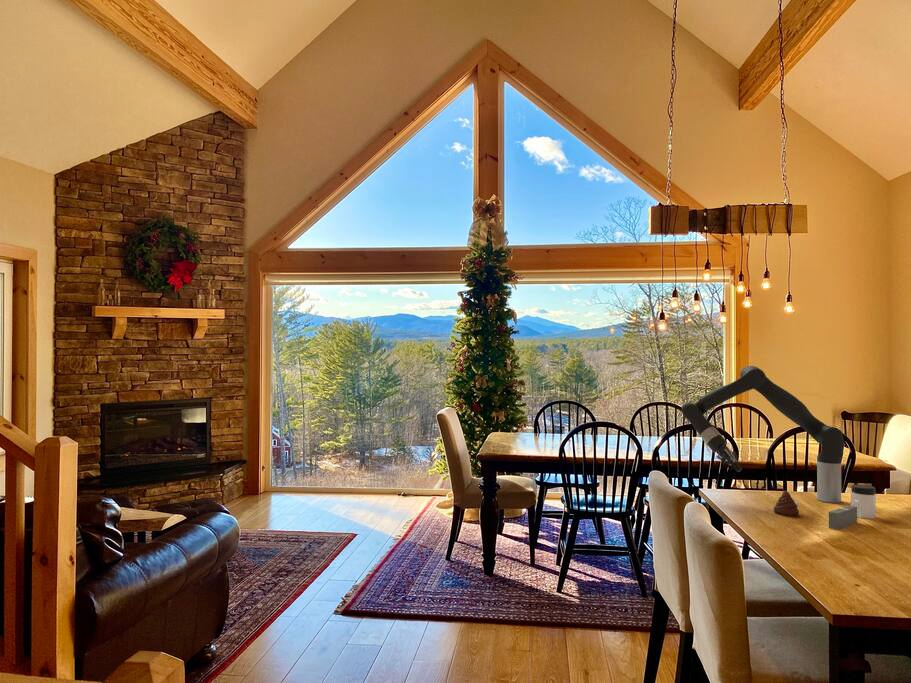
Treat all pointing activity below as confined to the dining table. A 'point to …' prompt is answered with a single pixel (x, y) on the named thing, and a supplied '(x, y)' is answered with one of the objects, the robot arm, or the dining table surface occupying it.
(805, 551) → the dining table surface
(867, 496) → the jar
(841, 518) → the rail
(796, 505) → the poop emoji
